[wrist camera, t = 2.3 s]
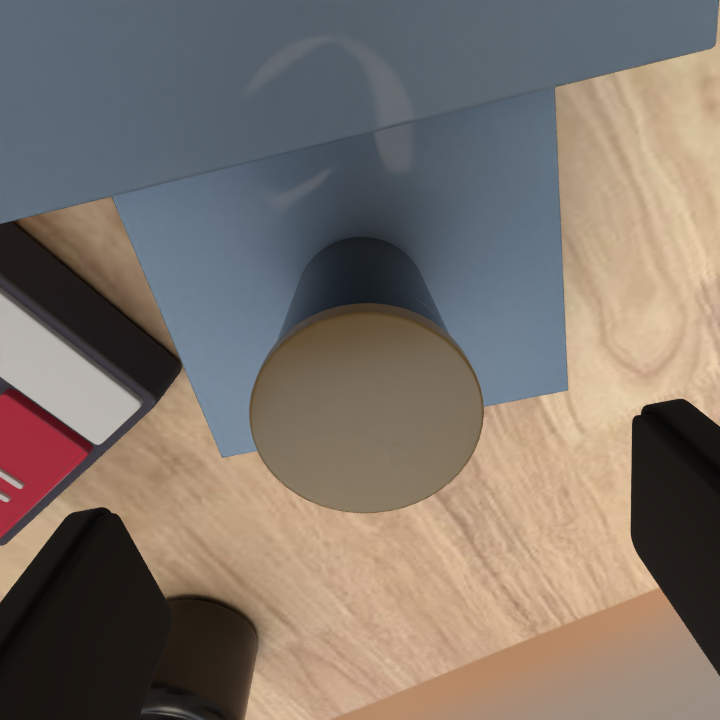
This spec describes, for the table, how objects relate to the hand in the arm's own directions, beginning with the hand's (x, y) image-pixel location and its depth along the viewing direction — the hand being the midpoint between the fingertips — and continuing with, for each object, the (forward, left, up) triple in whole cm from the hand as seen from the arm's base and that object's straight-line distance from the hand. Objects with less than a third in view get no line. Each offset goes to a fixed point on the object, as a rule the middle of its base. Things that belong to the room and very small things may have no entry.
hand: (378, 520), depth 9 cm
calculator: (+2, -20, -17) cm, 26 cm away
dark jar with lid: (0, 0, -12) cm, 12 cm away
